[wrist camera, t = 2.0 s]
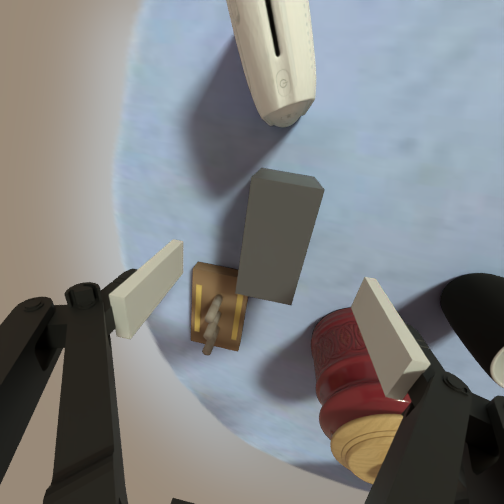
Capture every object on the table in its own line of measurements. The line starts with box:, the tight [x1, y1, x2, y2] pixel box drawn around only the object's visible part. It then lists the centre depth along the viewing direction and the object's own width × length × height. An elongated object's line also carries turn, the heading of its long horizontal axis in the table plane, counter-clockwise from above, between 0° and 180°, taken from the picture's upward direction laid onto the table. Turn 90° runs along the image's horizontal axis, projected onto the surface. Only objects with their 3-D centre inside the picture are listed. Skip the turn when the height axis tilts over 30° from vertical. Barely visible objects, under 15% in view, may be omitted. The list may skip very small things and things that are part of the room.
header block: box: [191, 262, 248, 355], centre depth 32 cm, size 14×8×6 cm, turn 172°
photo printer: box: [226, 0, 316, 127], centre depth 16 cm, size 10×4×12 cm, turn 16°
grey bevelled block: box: [235, 168, 324, 305], centre depth 24 cm, size 12×6×8 cm, turn 172°
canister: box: [311, 308, 412, 484], centre depth 26 cm, size 13×13×18 cm
